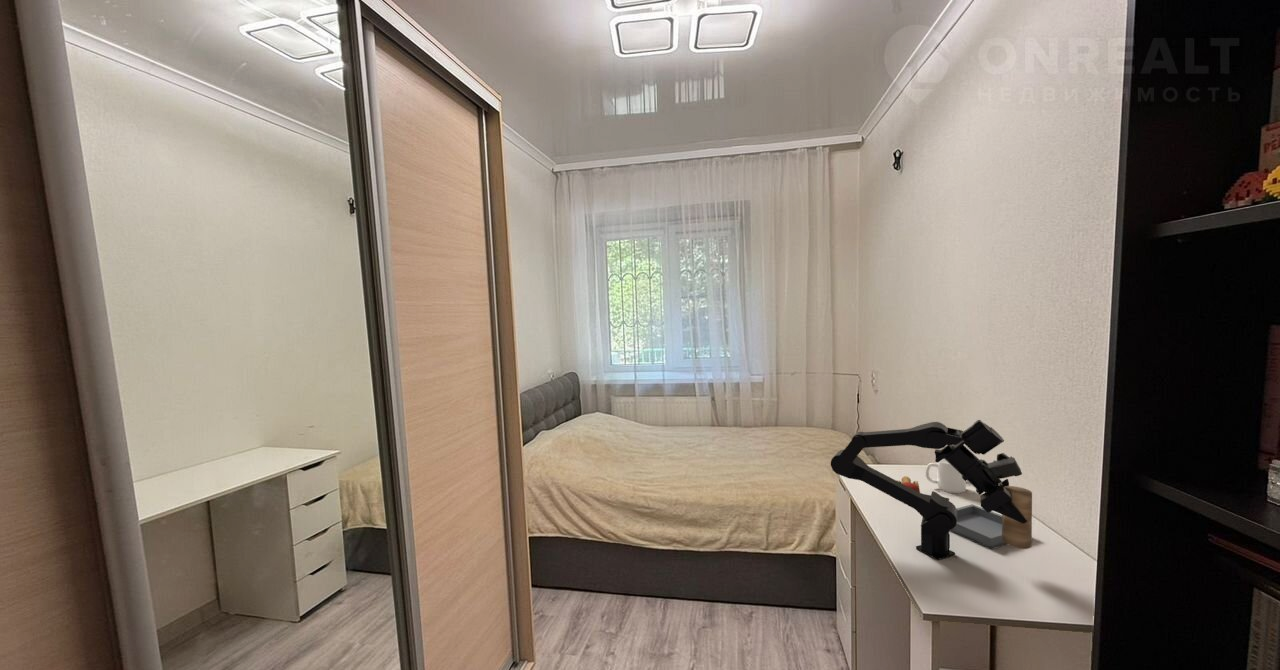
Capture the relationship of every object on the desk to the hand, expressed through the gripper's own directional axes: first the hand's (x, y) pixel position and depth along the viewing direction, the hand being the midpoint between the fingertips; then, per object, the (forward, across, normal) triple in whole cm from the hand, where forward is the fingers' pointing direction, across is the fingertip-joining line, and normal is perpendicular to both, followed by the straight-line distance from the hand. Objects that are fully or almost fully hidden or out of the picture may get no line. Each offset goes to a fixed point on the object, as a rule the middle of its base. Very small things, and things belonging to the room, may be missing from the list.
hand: (1024, 517), depth 112 cm
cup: (-2, +50, +22) cm, 54 cm away
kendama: (-10, +39, +30) cm, 50 cm away
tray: (+4, +20, +15) cm, 25 cm away
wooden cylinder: (+4, 0, +6) cm, 7 cm away
